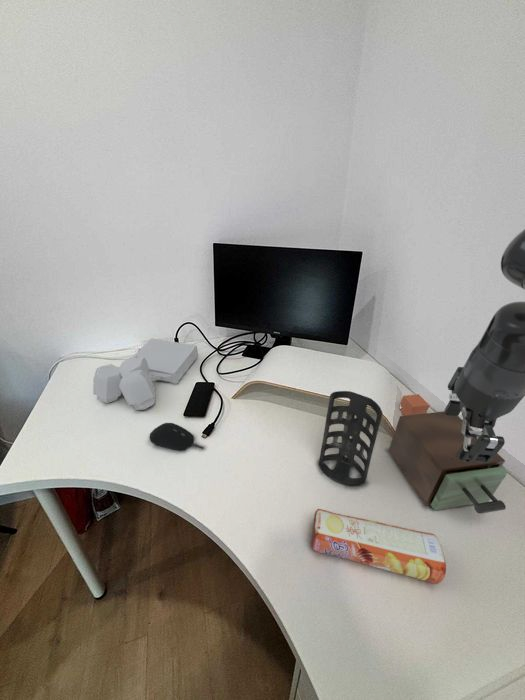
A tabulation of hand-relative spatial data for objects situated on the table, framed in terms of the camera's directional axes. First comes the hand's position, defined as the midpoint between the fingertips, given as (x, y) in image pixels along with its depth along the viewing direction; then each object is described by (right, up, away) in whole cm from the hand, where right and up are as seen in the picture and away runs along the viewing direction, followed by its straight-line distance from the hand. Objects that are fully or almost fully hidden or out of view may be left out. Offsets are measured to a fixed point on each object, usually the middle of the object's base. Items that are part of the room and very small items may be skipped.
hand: (456, 434), depth 51 cm
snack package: (-14, -22, +2) cm, 27 cm away
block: (+10, -4, +34) cm, 36 cm away
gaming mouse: (-56, -9, +24) cm, 62 cm away
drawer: (+6, -15, +13) cm, 21 cm away
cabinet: (+6, -14, +17) cm, 23 cm away
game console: (-71, +5, +48) cm, 86 cm away
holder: (-15, -13, +18) cm, 27 cm away
